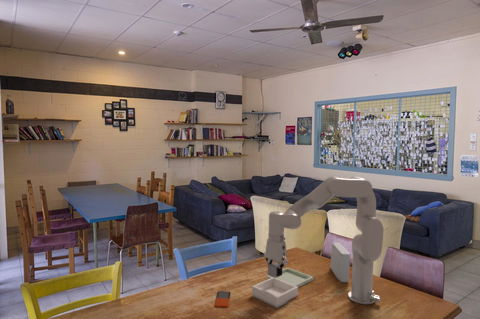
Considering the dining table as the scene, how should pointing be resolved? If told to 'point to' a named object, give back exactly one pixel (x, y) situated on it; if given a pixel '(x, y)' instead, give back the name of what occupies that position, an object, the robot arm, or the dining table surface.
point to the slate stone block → (273, 270)
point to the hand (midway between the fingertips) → (274, 273)
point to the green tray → (294, 277)
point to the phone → (222, 299)
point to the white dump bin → (274, 292)
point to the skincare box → (340, 262)
